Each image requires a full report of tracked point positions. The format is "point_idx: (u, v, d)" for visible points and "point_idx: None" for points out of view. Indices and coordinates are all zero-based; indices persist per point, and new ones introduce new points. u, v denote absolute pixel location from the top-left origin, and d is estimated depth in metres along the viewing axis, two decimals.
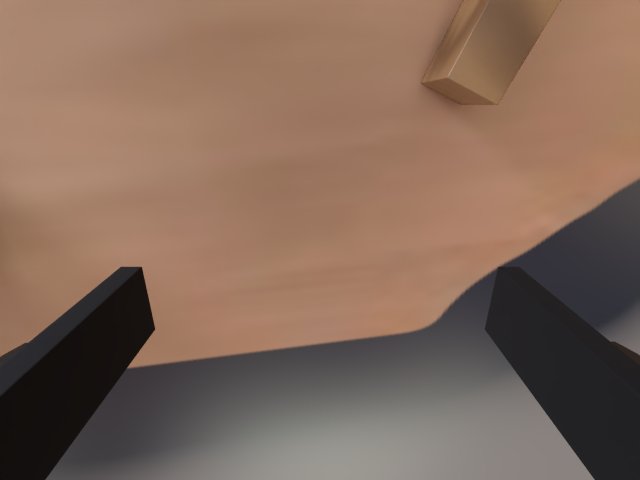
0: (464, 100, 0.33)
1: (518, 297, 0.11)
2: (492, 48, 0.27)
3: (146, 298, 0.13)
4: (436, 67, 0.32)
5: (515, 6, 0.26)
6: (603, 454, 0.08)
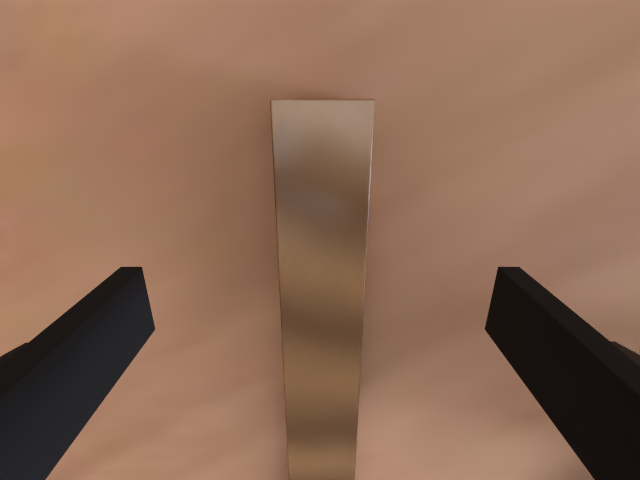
0: None
1: (518, 298, 0.11)
2: (329, 169, 0.17)
3: (146, 298, 0.13)
4: None
5: (329, 225, 0.19)
6: (603, 454, 0.08)
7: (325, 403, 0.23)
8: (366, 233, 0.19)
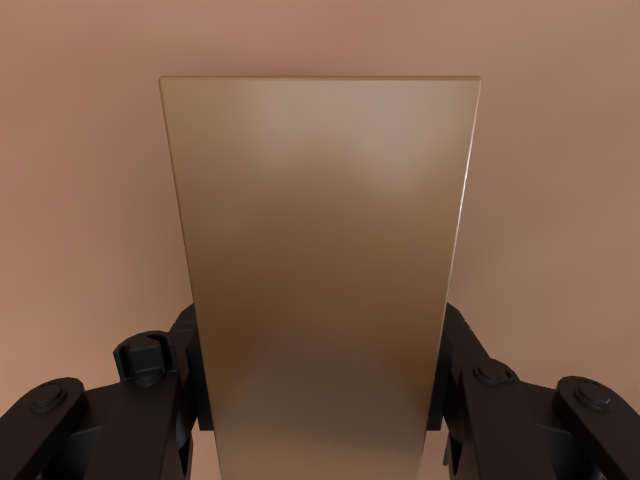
0: None
1: None
2: (340, 271, 0.06)
3: None
4: None
5: (338, 395, 0.08)
6: None
7: None
8: (427, 409, 0.08)
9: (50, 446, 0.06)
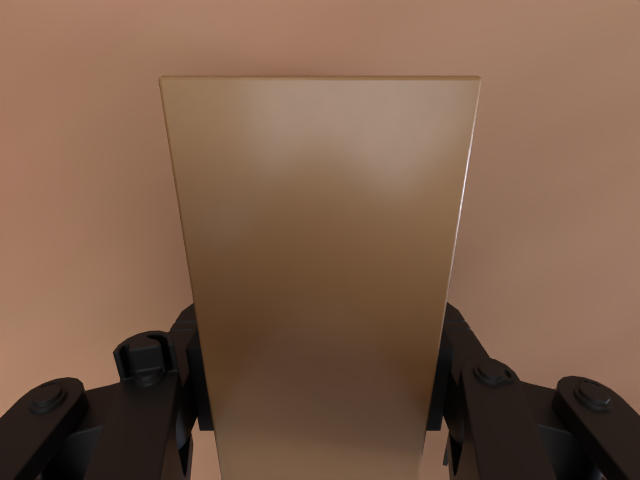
0: None
1: None
2: (340, 271, 0.06)
3: None
4: None
5: (338, 394, 0.08)
6: None
7: None
8: (427, 408, 0.08)
9: (50, 446, 0.06)
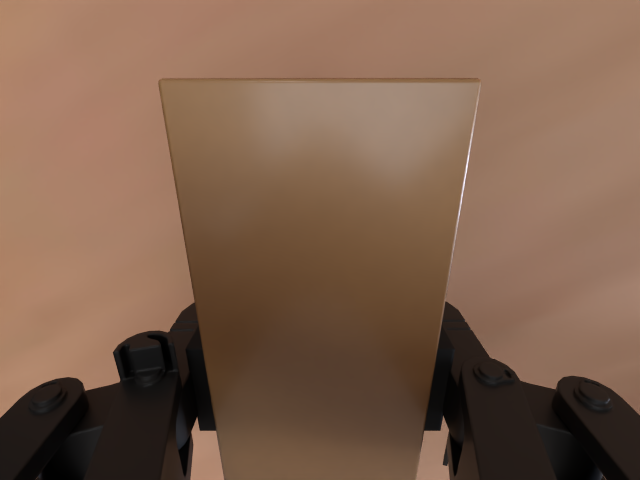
0: None
1: None
2: (339, 271, 0.06)
3: None
4: None
5: (337, 392, 0.08)
6: None
7: None
8: (425, 406, 0.08)
9: (50, 446, 0.06)
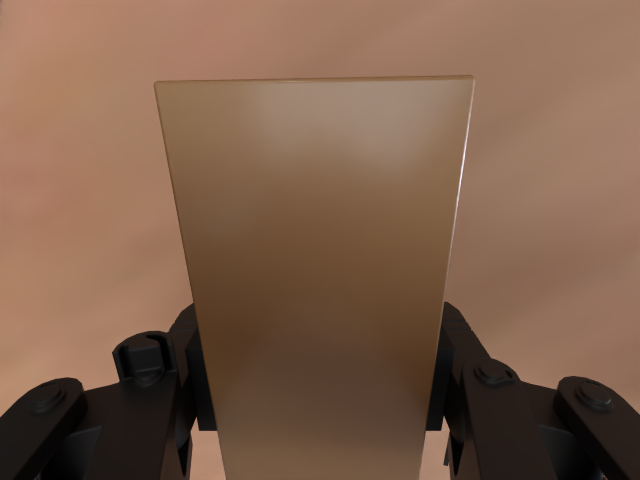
0: None
1: None
2: (338, 271, 0.06)
3: None
4: None
5: (338, 392, 0.08)
6: None
7: None
8: (427, 405, 0.08)
9: (49, 446, 0.06)
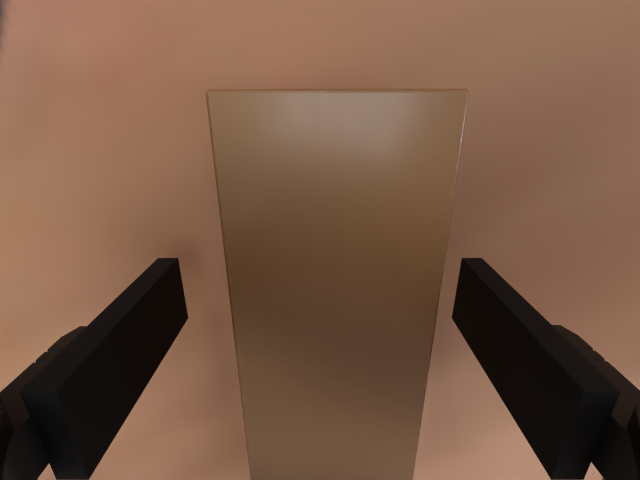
0: None
1: (476, 286, 0.12)
2: (351, 251, 0.08)
3: (181, 288, 0.13)
4: None
5: (349, 360, 0.09)
6: (539, 425, 0.08)
7: None
8: (426, 373, 0.09)
9: None
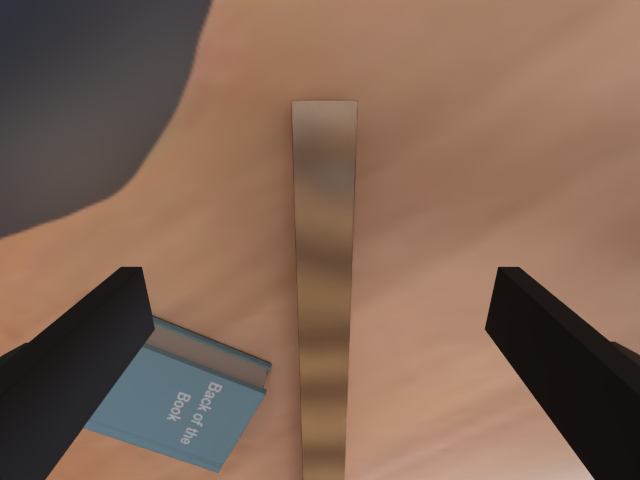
0: None
1: (518, 297, 0.11)
2: (329, 146, 0.27)
3: (146, 298, 0.13)
4: None
5: (329, 184, 0.28)
6: (603, 454, 0.08)
7: (326, 316, 0.32)
8: (353, 189, 0.28)
9: None
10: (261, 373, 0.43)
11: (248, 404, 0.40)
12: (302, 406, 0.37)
